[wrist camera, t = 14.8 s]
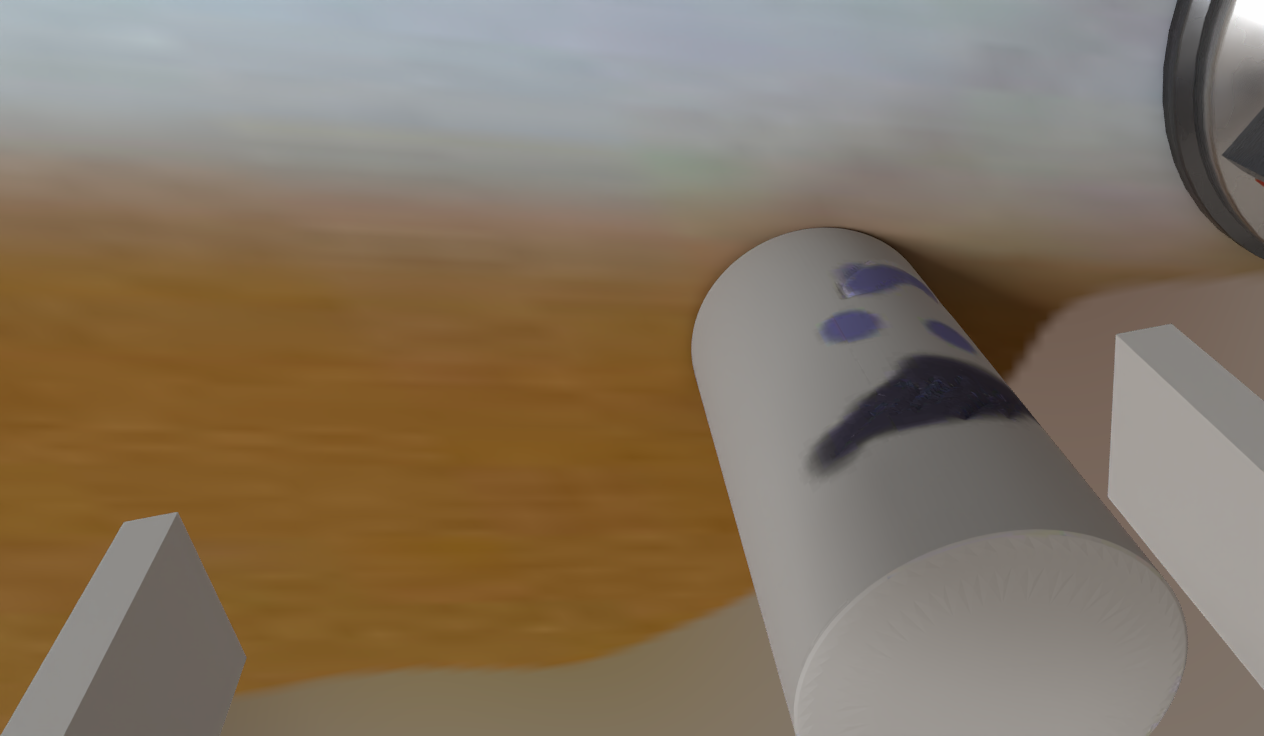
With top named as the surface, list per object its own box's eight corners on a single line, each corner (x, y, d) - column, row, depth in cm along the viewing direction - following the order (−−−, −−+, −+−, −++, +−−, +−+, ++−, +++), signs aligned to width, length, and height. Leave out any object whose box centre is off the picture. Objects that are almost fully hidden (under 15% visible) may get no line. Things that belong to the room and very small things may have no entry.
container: (927, 206, 42) (1215, 502, 24) (930, 421, 46) (1172, 799, 29) (676, 248, 42) (780, 576, 24) (705, 459, 46) (809, 861, 29)
